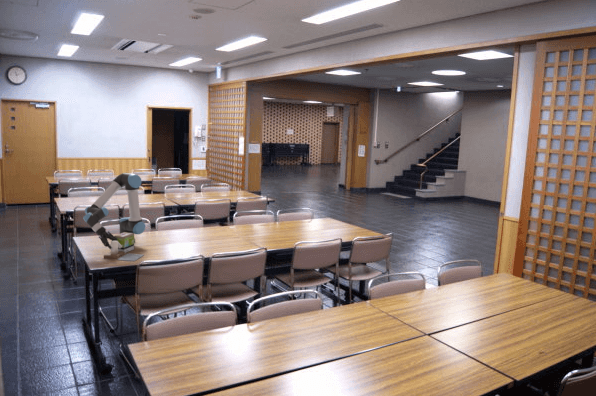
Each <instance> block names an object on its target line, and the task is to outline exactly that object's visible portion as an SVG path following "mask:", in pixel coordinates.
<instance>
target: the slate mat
mask: <svg viewBox="0 0 596 396" xmlns="http://www.w3.org/2000/svg"><path fill="white" fill-rule="evenodd" d="M144 256H145V254H143V253H142V254H141V253H140V254H139V253H128V252H127V253H125V255H123V256H122V257H120V258H118V259H116V260H117V261H124V262H136V261H137V260H139V259H140V258H142V257H144Z"/></svg>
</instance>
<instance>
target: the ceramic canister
mask: <svg viewBox="0 0 596 396" xmlns="http://www.w3.org/2000/svg"><path fill="white" fill-rule="evenodd" d="M110 244H111V245H112V247H113V248H114V249H115V251H114V252H112V251H111V250H110V252H111V254H118V241H112V240H110Z"/></svg>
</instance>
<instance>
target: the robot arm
mask: <svg viewBox="0 0 596 396" xmlns="http://www.w3.org/2000/svg"><path fill="white" fill-rule="evenodd" d="M142 182H143V181H142V178H141V176H140V175H138V174H136V173H129V172H123V173H120V174H119V175H117V176H116V177H115V178H114V179H113V180H112V181H111V184H110V185H108V187H107V188H106V189H105V190H104V191H103V193H101V195H100V196H98V198H97V199H96V200H95V201H94V202H93V203H92V204H91V205H89V206H86V207H85V209H84V214H85V215H83V217H82V218H83V221H84V222H85V223H86V224H87V225H88V226H89V228H90V229H92V231H93V232H95V234H96V235H97V236H98V238H99V239H100V241H101V242H102V245H104V247H105V248H107V247H108V249H109V250H110V252H111V251H112V252H114V251H115V249H114V248H113V247H112V245H111V243H110V242H109V240H110V241H117V240H118V239H117V238H116V237H115V235H113V234H112V233H111V232H110V231H107V229H106V228H105V227H104V226H103V224H101V223H100V221H101V220H102V219H104V218H105V217H107V216H108V215H109V213H110V211H109V210H108V208H107V207H106V206H105V205H106V204H107V203H108V202H109V201H110V199H111V198H113V196H114V195H115V194H116V193H118V191H119V190H122V188H123V187H124V188H125V190H126V192H127V200H128V210H129V211H128V212H129V217H125V216H124V217H122V218H120V219H119V234H121V233H124V232H127V233H134V235H141V234H143V233H144V231H145V229H146V224H145V222H144V221H143V217H141V213H140V212H141V211H140V200H139V190H140V187H141V185H142ZM135 243H136V238H135V237H134V244H135ZM118 247H119V248H121V247H122V245H121V244H120V243H119V242H118Z"/></svg>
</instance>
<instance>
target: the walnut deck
mask: <svg viewBox="0 0 596 396" xmlns="http://www.w3.org/2000/svg"><path fill="white" fill-rule="evenodd" d="M124 255H126V253H125V252H123V251H118V254H111V251H109V252H107V253H105V254H104V255H103V259H110V260H117V259H119V258H121V257H122V256H124Z"/></svg>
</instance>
